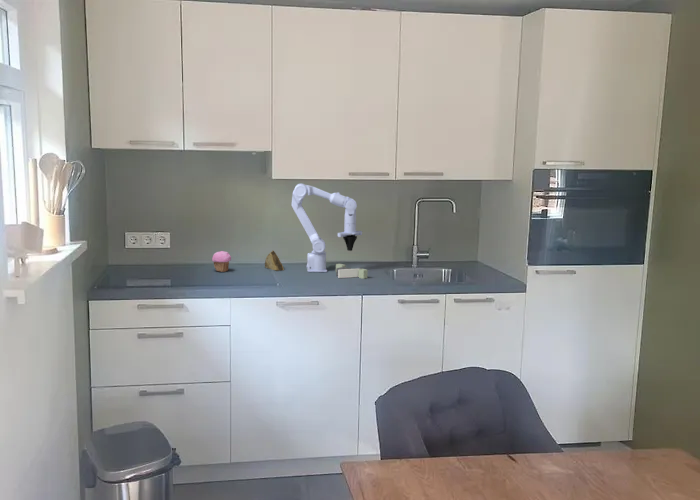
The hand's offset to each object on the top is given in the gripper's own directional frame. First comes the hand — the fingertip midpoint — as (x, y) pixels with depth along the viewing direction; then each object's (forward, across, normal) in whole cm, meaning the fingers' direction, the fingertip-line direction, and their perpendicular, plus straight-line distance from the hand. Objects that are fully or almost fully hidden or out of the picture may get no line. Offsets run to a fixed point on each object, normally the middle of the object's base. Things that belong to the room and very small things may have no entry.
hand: (349, 250), depth 324 cm
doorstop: (+11, -11, -8) cm, 17 cm away
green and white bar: (+10, -6, -8) cm, 14 cm away
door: (+10, -11, -12) cm, 19 cm away
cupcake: (+10, -52, +34) cm, 63 cm away
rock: (+10, -27, +26) cm, 39 cm away
